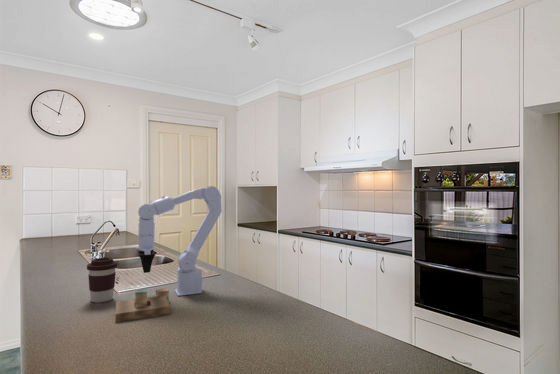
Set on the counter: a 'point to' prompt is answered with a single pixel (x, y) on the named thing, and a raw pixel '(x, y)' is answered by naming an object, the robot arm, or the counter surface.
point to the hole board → (142, 309)
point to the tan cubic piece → (163, 293)
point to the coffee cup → (101, 279)
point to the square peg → (140, 298)
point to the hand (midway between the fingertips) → (146, 270)
